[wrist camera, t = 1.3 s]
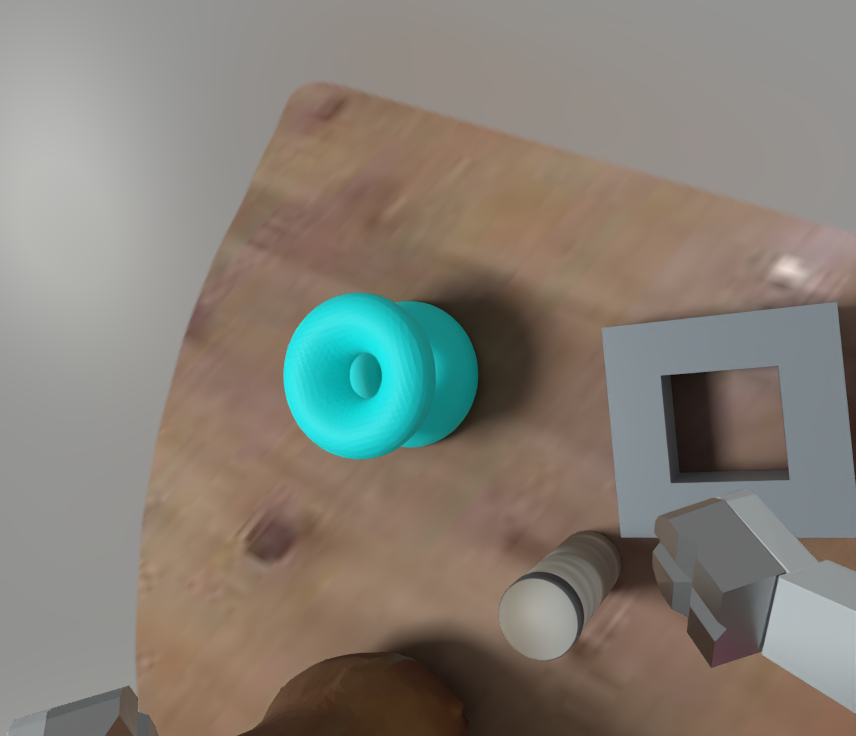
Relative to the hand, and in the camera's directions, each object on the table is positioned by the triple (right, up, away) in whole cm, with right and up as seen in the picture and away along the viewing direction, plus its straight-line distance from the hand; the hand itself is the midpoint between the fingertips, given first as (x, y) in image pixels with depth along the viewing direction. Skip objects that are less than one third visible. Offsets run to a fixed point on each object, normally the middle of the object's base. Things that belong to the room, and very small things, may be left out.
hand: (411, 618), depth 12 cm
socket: (+18, +1, +34) cm, 39 cm away
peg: (+11, -9, +37) cm, 40 cm away
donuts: (0, +3, +43) cm, 43 cm away
